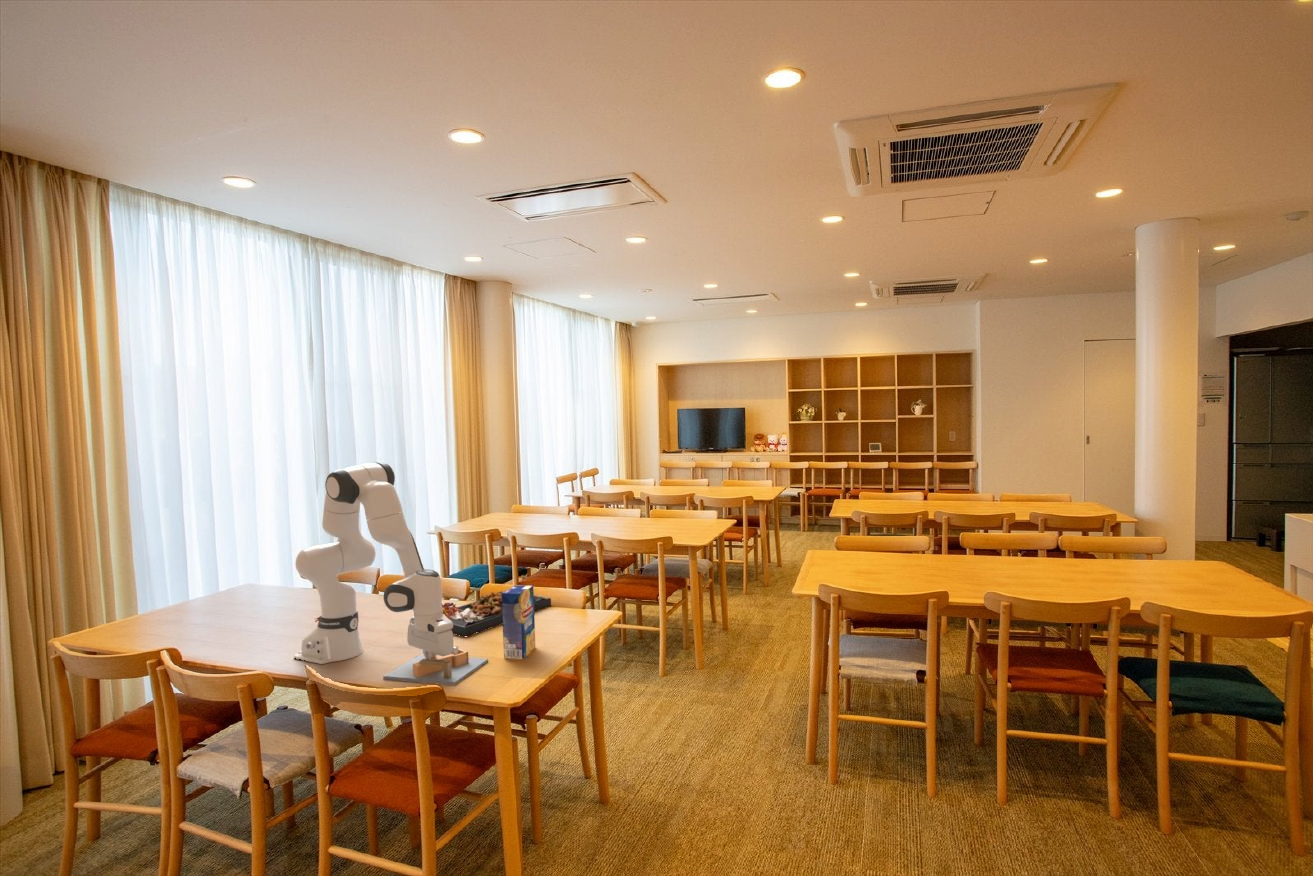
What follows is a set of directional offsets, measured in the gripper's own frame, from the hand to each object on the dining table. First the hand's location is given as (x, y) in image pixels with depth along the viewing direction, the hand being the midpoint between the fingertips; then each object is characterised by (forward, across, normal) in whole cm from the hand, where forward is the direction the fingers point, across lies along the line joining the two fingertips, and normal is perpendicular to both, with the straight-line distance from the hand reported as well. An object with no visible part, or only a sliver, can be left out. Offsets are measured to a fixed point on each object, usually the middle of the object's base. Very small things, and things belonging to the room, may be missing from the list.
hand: (430, 664), depth 218 cm
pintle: (+1, +3, +7) cm, 8 cm away
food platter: (+3, -31, +49) cm, 58 cm away
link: (+1, +3, 0) cm, 3 cm away
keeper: (+1, +7, -4) cm, 8 cm away
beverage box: (+2, +12, +26) cm, 29 cm away
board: (+2, +2, +1) cm, 3 cm away
